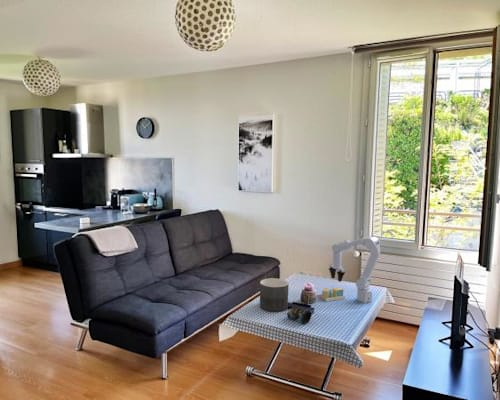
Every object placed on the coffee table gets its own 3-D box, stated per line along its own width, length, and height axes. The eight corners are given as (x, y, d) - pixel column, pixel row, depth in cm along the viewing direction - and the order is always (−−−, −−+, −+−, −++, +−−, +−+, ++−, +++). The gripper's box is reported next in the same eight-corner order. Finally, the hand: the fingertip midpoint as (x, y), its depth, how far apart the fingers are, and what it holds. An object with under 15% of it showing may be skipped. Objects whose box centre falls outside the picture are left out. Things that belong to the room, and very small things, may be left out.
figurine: (305, 317, 213) (283, 307, 222) (305, 329, 216) (284, 318, 226) (314, 309, 219) (292, 299, 228) (314, 320, 222) (293, 310, 231)
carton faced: (335, 299, 255) (336, 290, 254) (332, 297, 258) (332, 288, 258) (343, 297, 257) (343, 289, 257) (339, 296, 261) (339, 287, 260)
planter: (286, 313, 232) (286, 288, 231) (257, 310, 236) (257, 285, 234) (289, 303, 250) (289, 279, 248) (262, 300, 253) (262, 277, 252)
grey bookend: (344, 300, 256) (344, 295, 256) (326, 303, 250) (326, 298, 250) (333, 294, 267) (333, 290, 267) (315, 297, 261) (315, 292, 261)
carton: (327, 300, 252) (328, 291, 251) (322, 299, 254) (322, 290, 254) (331, 297, 257) (331, 289, 256) (325, 296, 259) (325, 288, 259)
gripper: (348, 262, 260) (347, 282, 262) (335, 257, 273) (334, 276, 275) (340, 263, 257) (339, 283, 259) (327, 258, 270) (326, 277, 272)
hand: (336, 279), depth 266 cm, fingers open, 7 cm apart
